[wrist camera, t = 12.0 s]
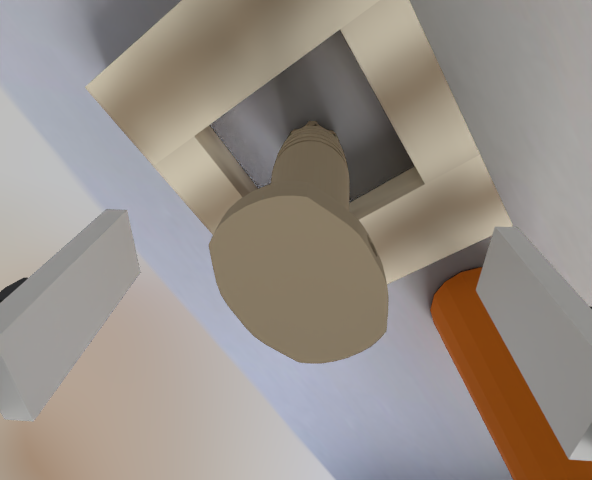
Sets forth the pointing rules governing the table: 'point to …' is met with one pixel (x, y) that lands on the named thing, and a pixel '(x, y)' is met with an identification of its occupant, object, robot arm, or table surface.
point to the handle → (302, 257)
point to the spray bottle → (499, 385)
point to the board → (268, 64)
